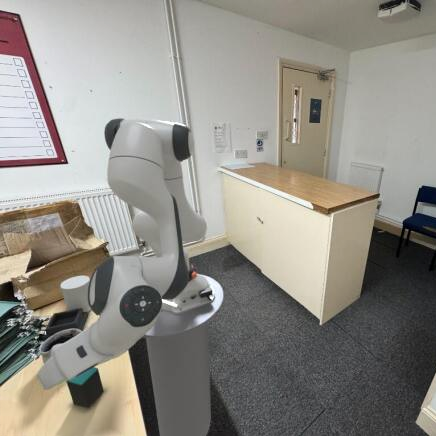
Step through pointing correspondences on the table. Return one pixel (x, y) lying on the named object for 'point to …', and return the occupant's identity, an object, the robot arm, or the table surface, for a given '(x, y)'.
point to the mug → (56, 342)
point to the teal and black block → (85, 388)
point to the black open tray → (66, 322)
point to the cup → (76, 293)
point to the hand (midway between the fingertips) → (94, 355)
